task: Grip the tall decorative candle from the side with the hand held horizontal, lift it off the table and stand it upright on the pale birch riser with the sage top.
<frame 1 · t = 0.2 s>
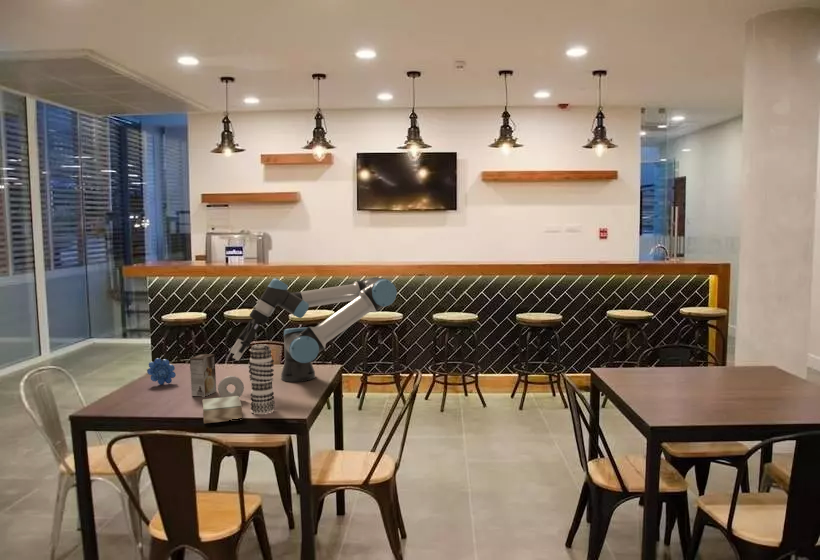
hand: (234, 356, 260), 15 cm above the table, tool tilted 35°, fingers open, 13 cm apart
coffee box: (204, 394, 258), on the table
blue lobed piece: (162, 385, 274), on the table
riser: (222, 415, 228), on the table
donut: (231, 401, 248), on the table
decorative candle: (262, 412, 233), on the table
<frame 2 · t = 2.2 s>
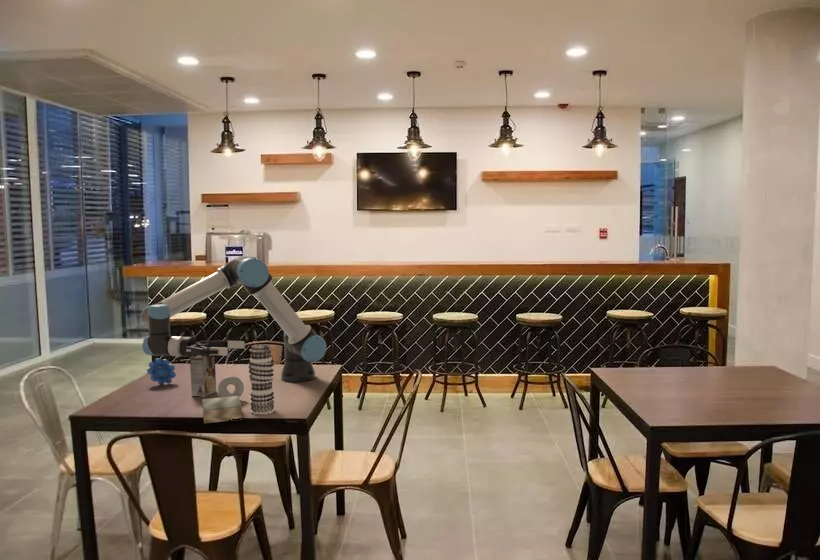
hand: (236, 348, 232), 24 cm above the table, tool horizontal, fingers open, 13 cm apart
nothing on the table moved.
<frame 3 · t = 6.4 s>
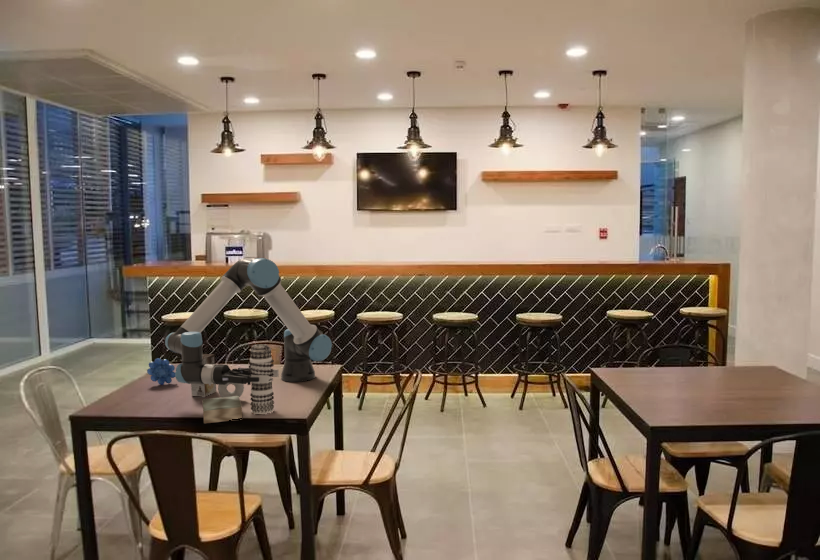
hand: (273, 376, 231), 13 cm above the table, tool horizontal, fingers closed on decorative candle, 8 cm apart
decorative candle: (262, 412, 233), on the table, touching gripper
everything else where it was.
when the fingers open (19 cm above the table, at t = 11.0 s): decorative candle moves 2 cm, resting on riser.
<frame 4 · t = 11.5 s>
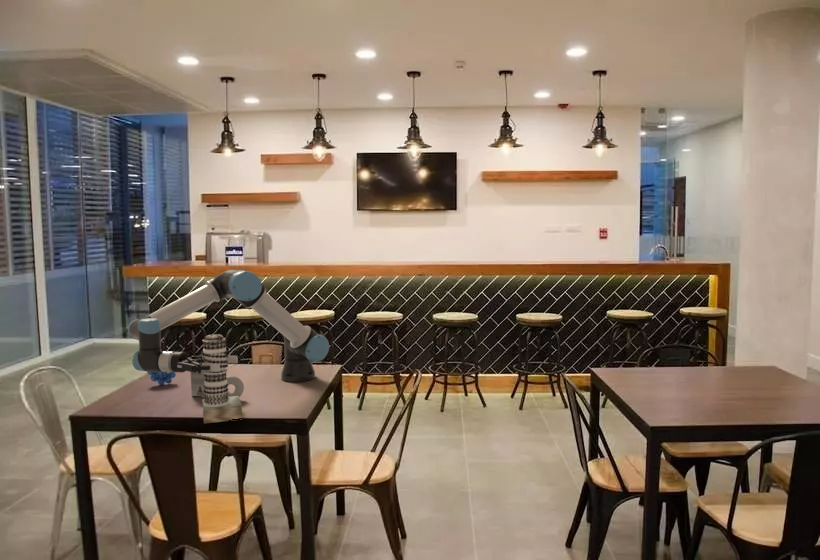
hand: (228, 363, 226), 19 cm above the table, tool horizontal, fingers open, 13 cm apart
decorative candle: (216, 404, 225), point 5 cm above the table, touching gripper, riser
everything else where it was.
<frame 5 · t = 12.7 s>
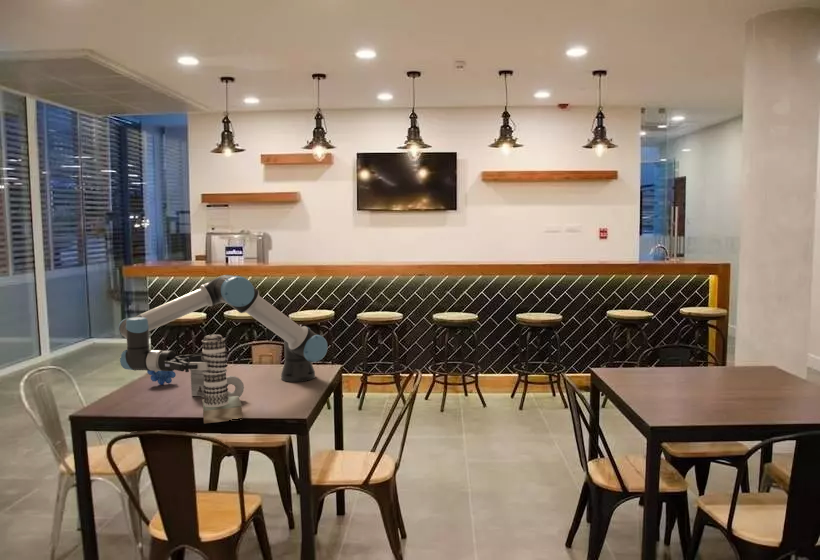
hand: (216, 362, 226), 20 cm above the table, tool horizontal, fingers open, 13 cm apart
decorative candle: (216, 404, 225), point 5 cm above the table, touching riser
everything else where it was.
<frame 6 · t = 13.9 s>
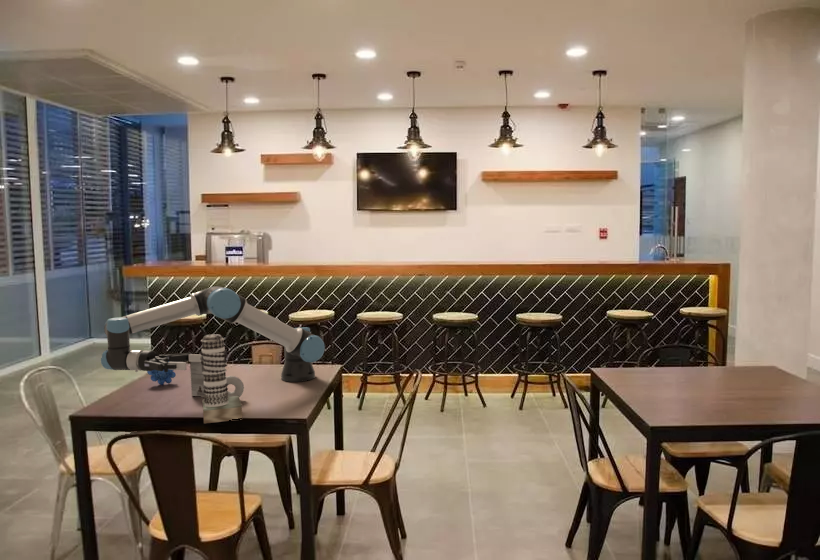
hand: (195, 362, 228), 20 cm above the table, tool horizontal, fingers open, 13 cm apart
nothing on the table moved.
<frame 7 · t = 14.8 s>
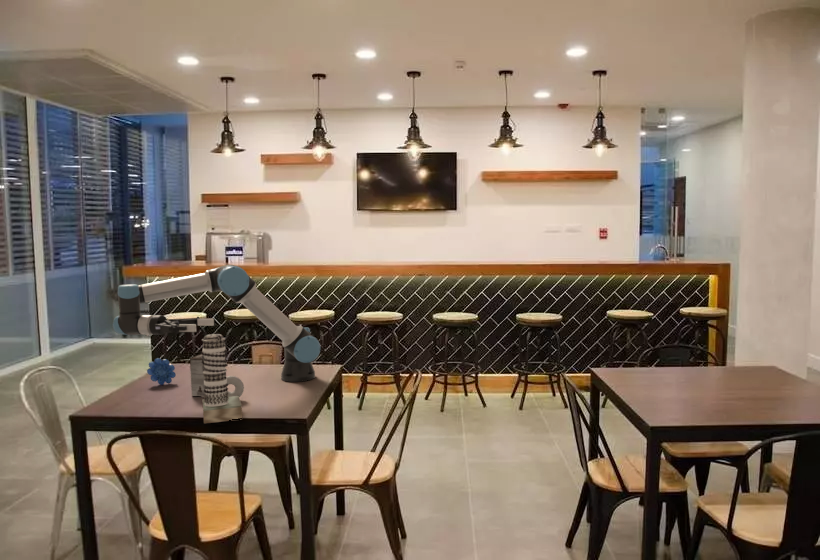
hand: (204, 325, 237), 32 cm above the table, tool horizontal, fingers open, 13 cm apart
nothing on the table moved.
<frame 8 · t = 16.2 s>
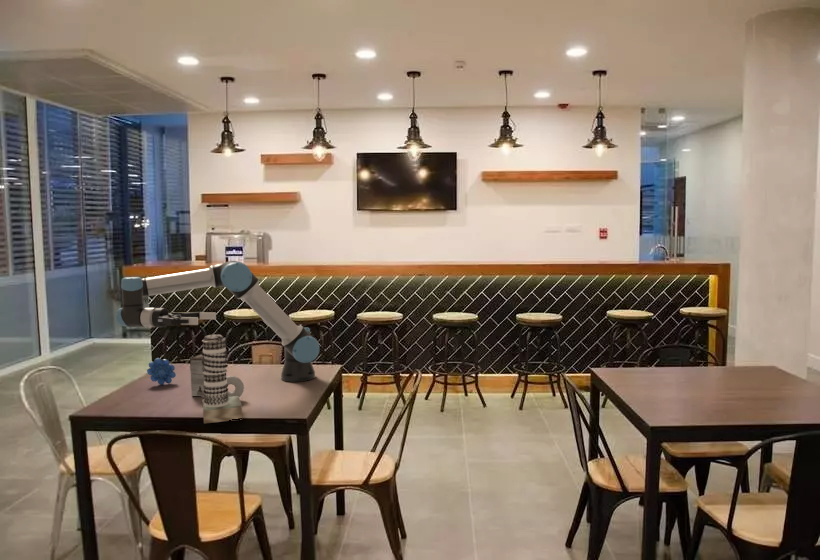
hand: (206, 318, 238), 34 cm above the table, tool horizontal, fingers open, 13 cm apart
nothing on the table moved.
at the end: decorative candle inside the target area on the riser (2.5 cm from its centre), point 4.8 cm above the riser's base; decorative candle tilted 0°; the gripper is holding nothing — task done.
